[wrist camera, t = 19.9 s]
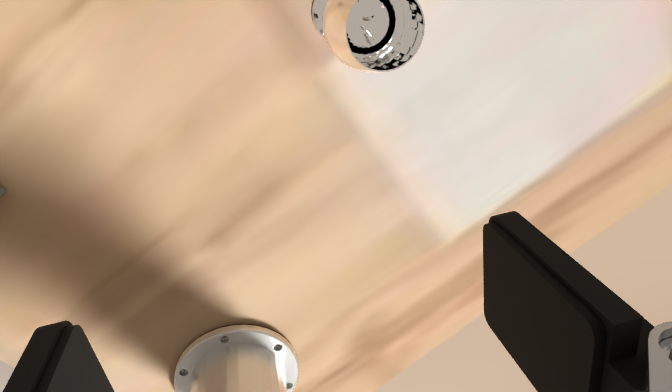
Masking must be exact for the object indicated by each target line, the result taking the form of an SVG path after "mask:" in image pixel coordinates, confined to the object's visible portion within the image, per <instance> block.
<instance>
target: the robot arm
mask: <svg viewBox="0 0 672 392" xmlns="http://www.w3.org/2000/svg"><path fill="white" fill-rule="evenodd" d="M483 267H484V314H485V318H486V321H487V323H488V325H489V326H490V328H491V329H492V331H493V332H494V333H495V335H496V336H497V337H498V339H499V340H500V341H501V343H502V344H503V345H504V347H505V348H506V350H507V351H508V352H509V354H510V355H511V356H512V358H513V359H514V360H515V362H516V363H517V364H518V366H519V367H520V368H521V370H522V371H523V372H524V374H525V375H526V376H527V378H528V379H529V381H530V382H531V383H532V385H533V386H534V387H535V389H536V390H537V391H538V392H672V322H665V323H662V324H660V325H657V326H656V327H654V326H653V325H651V324H650V323H649V322H648V321H647V320H645V319H644V318H643V316H641V315H640V314H639V313H638V312H637V311H635V310H634V309H633V308H632V307H631V306H629V305H628V304H627V303H626V302H625V301H623V300H622V299H621V298H620V297H618V296H617V295H616V294H615V293H614V292H613V291H611V290H610V289H609V288H608V287H607V286H605V285H604V284H603V283H602V282H601V281H599V280H598V279H596V277H595V276H593V275H592V274H591V273H590V272H589V271H587V270H586V269H585V268H584V267H582V266H581V265H580V264H579V263H578V262H576V261H575V260H574V259H573V258H572V257H570V256H569V255H568V254H567V253H566V252H564V251H563V250H562V249H561V248H560V247H558V246H557V245H556V244H555V243H554V242H552V241H551V240H550V239H549V238H548V237H546V236H545V235H544V234H543V233H542V232H540V231H539V230H538V229H537V228H536V227H534V226H533V225H532V224H531V223H530V222H528V221H527V220H526V219H525V218H524V217H522V216H521V215H520V214H519V213H517V212H516V211H512V212H508V213H503V214H499V215H495V216H492V217H491V218H490V219H489V223H488V224H485V225H484V227H483ZM298 375H299V367H298V360H297V356H296V353H295V351H294V349H293V347H292V346H291V344H290V343H289V342H288V341H287V340H286V339H285V338H284V337H282V336H281V335H279V334H278V333H276V332H274V331H272V330H270V329H267V328H264V327H260V326H255V325H231V326H227V327H222V328H218V329H216V330H213V331H211V332H208V333H206V334H204V335H203V336H201V337H199V338H197V339H196V340H195V341H194V342H193V343H191V344H190V345H189V346H188V347H187V348H186V350H185V351H184V352H183V353H182V355H181V356H180V358H179V360H178V362H177V365H176V369H175V375H174V388H175V392H293V390H294V388H295V386H296V383H297V381H298ZM3 392H114V390H113V388H112V386H111V384H110V382H109V380H108V378H107V376H106V374H105V372H104V370H103V368H102V366H101V364H100V363H99V361H98V359H97V357H96V355H95V353H94V351H93V349H92V347H91V345H90V343H89V341H88V339H87V337H86V335H85V333H84V331H83V329H82V328H81V327H80V326H79V325H74V326H73V325H72V323H70V322H69V321H62V322H58V323H54V324H50V325H46V326H42V327H39V328H37V329H36V330H35V332H34V333H33V335H32V337H31V339H30V341H29V343H28V345H27V347H26V348H25V350H24V352H23V354H22V356H21V358H20V360H19V362H18V364H17V366H16V367H15V369H14V371H13V373H12V375H11V377H10V379H9V381H8V383H7V385H6V387H5V389H4V390H3Z"/></svg>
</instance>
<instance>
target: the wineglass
mask: <svg viewBox="0 0 672 392" xmlns="http://www.w3.org/2000/svg"><path fill="white" fill-rule="evenodd" d="M312 19H313V22H314V25H315V27H316V29H317V31H318V32H319V33H320V34H321V35H322V36H323V37H324V38H325V39H326V42H327V44H328V47H329V48H330V50H331V52H332V53H333V54H334V55H335V57H336V58H337V59H338V60H339V61H341V62H342V63H344V64H345V65H346V66H348V67H350V68H352V69H354V70H357V71H361V72H366V73H382V72H389V71H392V70H395V69H398V68H400V67H401V66H403V65H405V64H406V63H407V62H408V61H410V60H411V59H412V57H413V56H414V55H415V54H416V52H417V51H418V49H419V47H420V45H421V43H422V39H423V36H424V27H425V22H424V15H423V12H422V9H421V6H420V4H419V3H418V1H417V0H314V3H313V7H312Z"/></svg>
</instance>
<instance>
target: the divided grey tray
mask: <svg viewBox="0 0 672 392" xmlns="http://www.w3.org/2000/svg"><path fill="white" fill-rule="evenodd" d="M5 191H6V189H5V188H3V187H2V186H1V185H0V196H1V195H2V194H3V193H4V192H5Z"/></svg>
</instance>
